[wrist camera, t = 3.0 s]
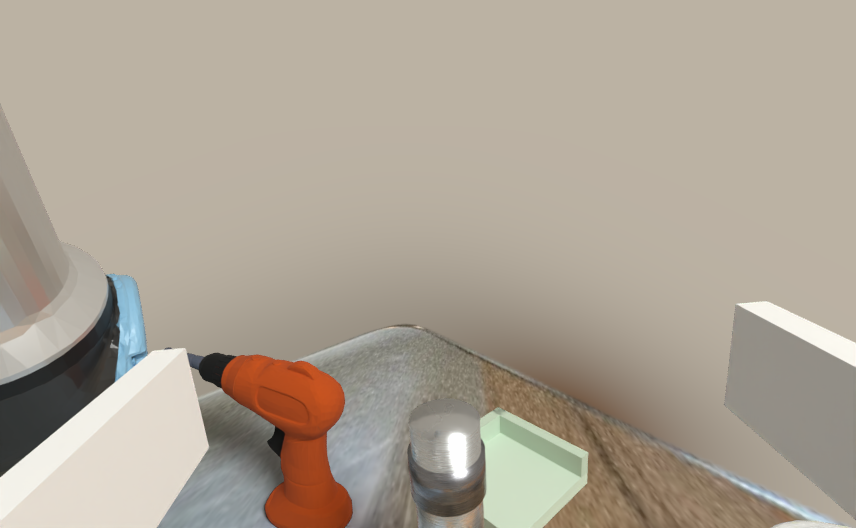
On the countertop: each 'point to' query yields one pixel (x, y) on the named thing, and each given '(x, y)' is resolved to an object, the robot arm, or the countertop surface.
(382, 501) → the countertop surface
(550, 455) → the pale green flat tray
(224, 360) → the toy drill
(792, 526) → the teacup
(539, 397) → the countertop surface
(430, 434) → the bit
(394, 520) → the countertop surface
